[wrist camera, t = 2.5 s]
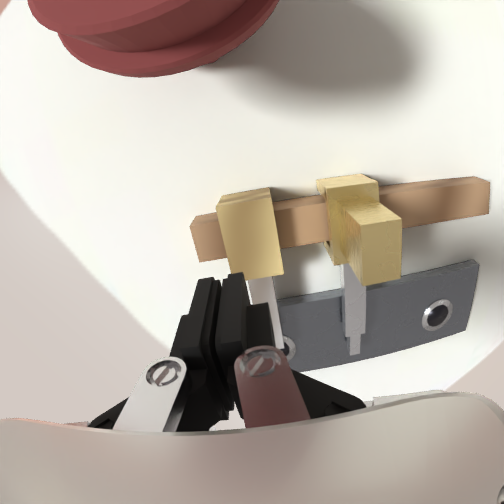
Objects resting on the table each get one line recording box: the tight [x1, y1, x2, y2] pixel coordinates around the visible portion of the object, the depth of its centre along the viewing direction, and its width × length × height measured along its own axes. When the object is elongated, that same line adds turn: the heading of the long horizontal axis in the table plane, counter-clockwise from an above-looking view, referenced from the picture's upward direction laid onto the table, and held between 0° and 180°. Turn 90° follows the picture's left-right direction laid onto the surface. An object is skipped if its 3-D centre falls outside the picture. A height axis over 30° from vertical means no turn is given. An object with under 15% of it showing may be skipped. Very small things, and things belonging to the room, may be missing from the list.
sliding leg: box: [316, 174, 402, 356], centre depth 18 cm, size 3×13×7 cm, turn 11°
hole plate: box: [277, 260, 479, 372], centre depth 22 cm, size 20×7×1 cm, turn 101°
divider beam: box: [190, 177, 490, 349], centre depth 19 cm, size 21×13×3 cm, turn 101°
